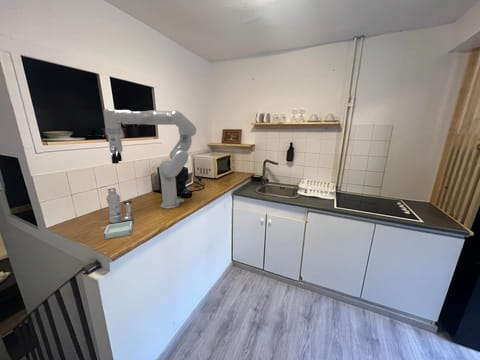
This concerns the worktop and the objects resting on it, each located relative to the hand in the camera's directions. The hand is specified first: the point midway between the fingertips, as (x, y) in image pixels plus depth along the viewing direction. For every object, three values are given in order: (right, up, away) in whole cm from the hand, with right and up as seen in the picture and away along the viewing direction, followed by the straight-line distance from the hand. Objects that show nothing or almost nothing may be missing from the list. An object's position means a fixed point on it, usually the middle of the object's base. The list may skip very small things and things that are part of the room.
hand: (117, 162), depth 116 cm
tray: (+9, -38, -12) cm, 41 cm away
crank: (+6, -32, +1) cm, 33 cm away
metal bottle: (0, -35, -1) cm, 35 cm away
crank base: (+3, -36, -5) cm, 36 cm away
